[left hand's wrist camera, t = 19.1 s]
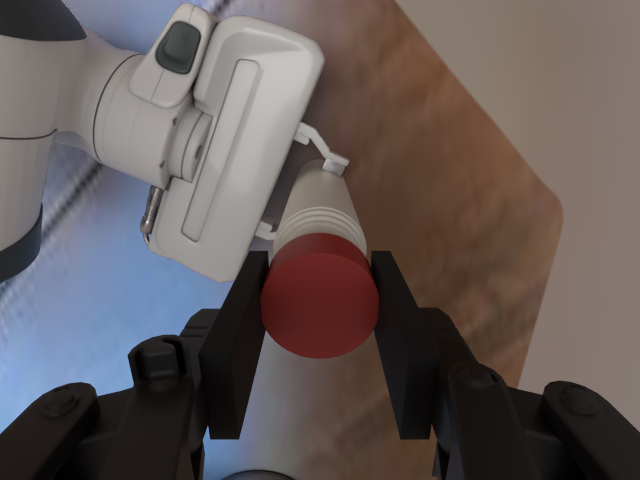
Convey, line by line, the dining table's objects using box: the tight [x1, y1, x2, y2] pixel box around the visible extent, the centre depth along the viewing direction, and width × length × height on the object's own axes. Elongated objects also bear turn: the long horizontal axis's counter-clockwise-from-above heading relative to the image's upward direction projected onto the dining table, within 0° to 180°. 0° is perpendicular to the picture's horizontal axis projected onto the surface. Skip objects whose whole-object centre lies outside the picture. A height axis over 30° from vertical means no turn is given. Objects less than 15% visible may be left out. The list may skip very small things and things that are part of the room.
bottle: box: [273, 159, 367, 257], centre depth 24 cm, size 5×5×23 cm
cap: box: [260, 233, 379, 358], centre depth 14 cm, size 4×4×2 cm
